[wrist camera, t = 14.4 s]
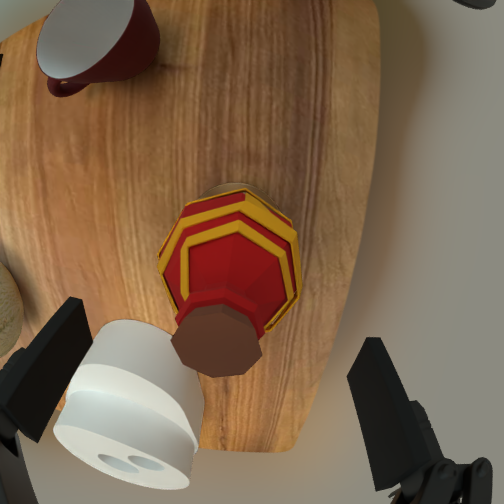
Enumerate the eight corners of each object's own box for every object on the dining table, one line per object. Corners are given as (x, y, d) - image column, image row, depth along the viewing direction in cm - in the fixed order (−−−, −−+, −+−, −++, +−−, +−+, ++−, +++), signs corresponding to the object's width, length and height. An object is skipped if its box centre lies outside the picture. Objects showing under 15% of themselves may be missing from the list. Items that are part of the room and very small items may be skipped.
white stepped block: (226, 346, 32) (216, 447, 19) (194, 433, 42) (184, 497, 29) (77, 297, 30) (19, 370, 17) (92, 400, 39) (67, 457, 27)
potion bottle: (159, 220, 25) (73, 315, 11) (250, 152, 23) (243, 182, 9) (226, 299, 28) (207, 427, 15) (314, 247, 26) (366, 364, 12)
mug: (111, 128, 22) (43, 133, 13) (72, 79, 19) (5, 71, 10) (195, 51, 19) (160, 8, 10) (147, 5, 17) (102, -39, 7)
